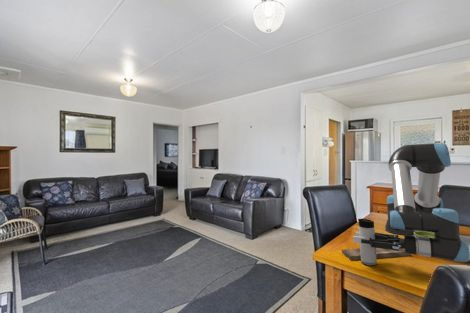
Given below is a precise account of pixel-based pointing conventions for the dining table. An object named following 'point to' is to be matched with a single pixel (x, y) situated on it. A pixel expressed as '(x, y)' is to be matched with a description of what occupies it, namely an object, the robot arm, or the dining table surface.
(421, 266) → the dining table surface
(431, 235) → the plant pot
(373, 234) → the travel mug
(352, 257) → the walnut board
